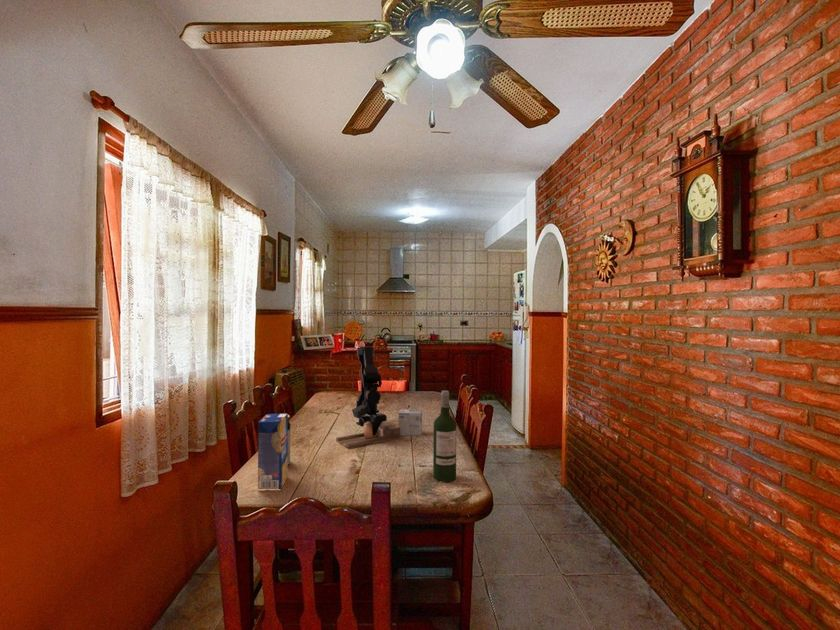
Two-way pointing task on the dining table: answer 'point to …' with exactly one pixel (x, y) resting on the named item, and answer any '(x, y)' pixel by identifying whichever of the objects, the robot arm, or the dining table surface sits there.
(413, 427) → the white carton
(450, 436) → the wine bottle
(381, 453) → the dining table surface
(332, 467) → the dining table surface
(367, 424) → the jar
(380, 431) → the bar
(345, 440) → the lane
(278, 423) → the beverage box
